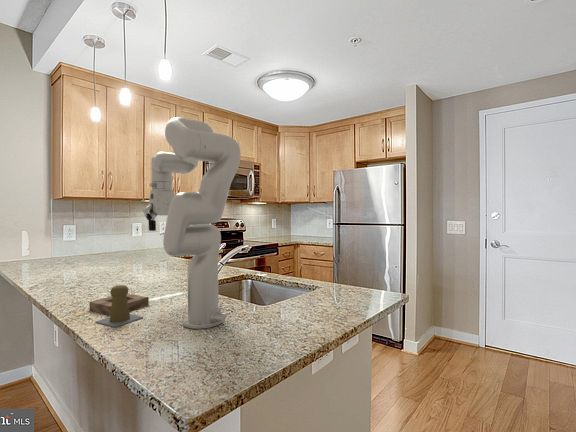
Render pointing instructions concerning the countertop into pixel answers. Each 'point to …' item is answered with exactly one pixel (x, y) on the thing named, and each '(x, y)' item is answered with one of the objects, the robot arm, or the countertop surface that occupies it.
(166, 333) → the countertop surface
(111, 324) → the rubber mat
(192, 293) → the robot arm
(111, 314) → the cork
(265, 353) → the countertop surface
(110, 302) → the socket block
